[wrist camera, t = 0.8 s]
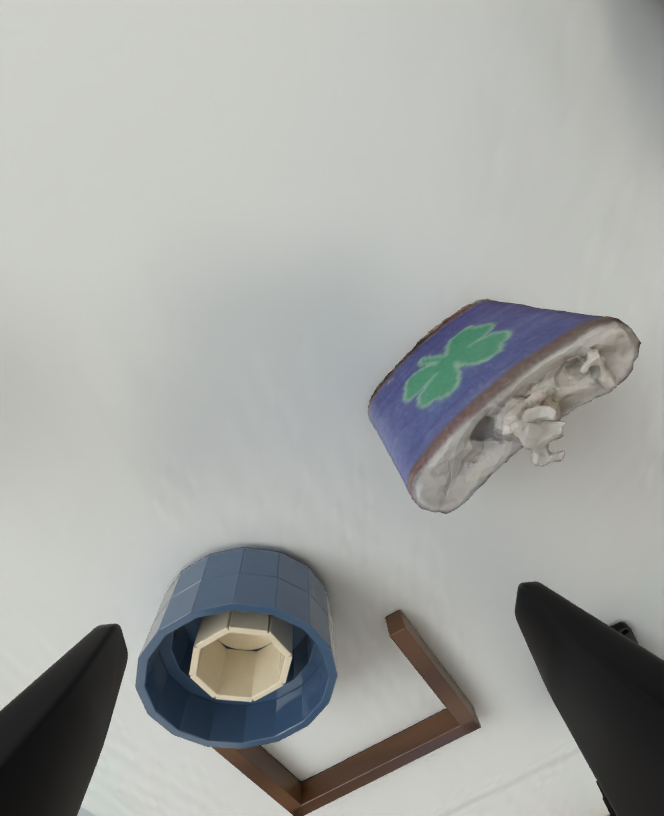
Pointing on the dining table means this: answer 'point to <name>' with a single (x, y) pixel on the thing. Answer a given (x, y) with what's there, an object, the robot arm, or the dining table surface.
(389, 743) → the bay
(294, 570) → the blue-grey round ring piece
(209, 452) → the dining table surface
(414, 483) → the flask
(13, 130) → the dining table surface
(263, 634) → the small bowl
